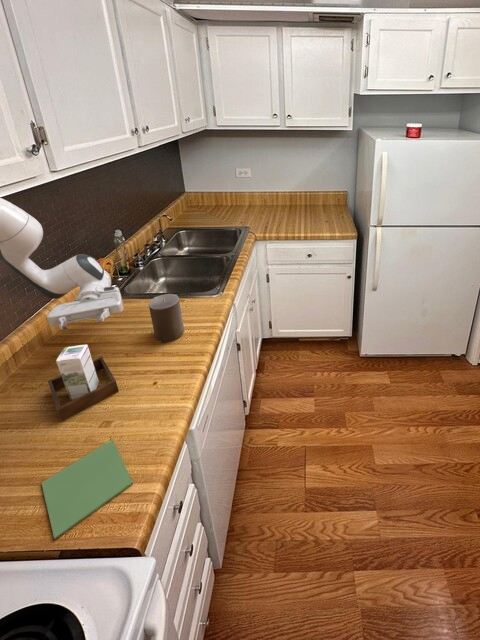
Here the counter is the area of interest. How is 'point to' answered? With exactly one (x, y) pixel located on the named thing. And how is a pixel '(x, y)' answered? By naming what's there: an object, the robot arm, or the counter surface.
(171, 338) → the pillar candle
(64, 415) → the frame
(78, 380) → the syrup box
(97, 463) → the green mat
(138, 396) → the counter surface
